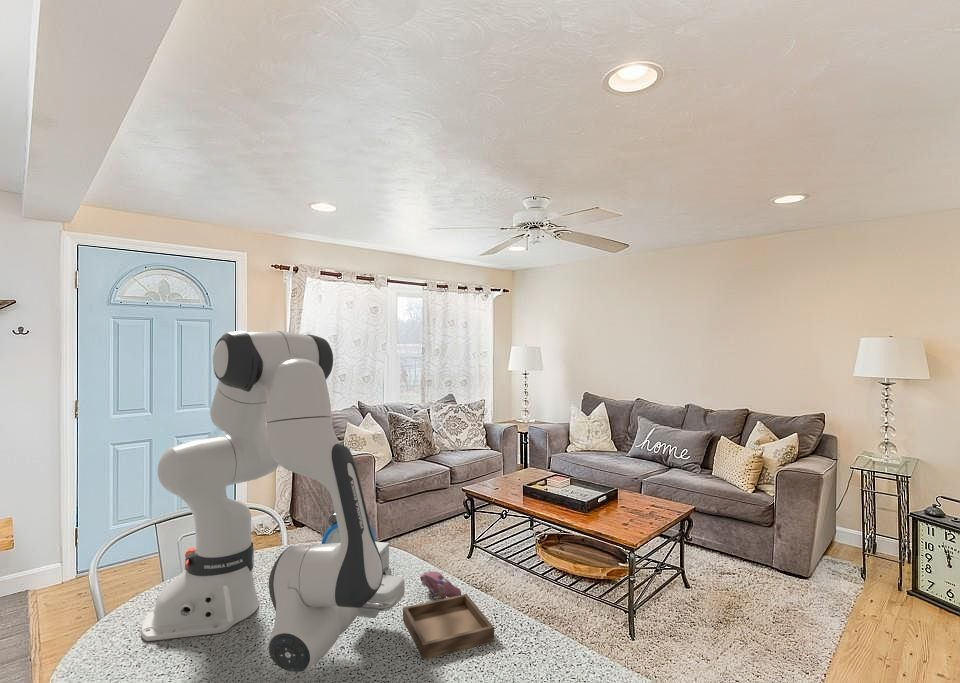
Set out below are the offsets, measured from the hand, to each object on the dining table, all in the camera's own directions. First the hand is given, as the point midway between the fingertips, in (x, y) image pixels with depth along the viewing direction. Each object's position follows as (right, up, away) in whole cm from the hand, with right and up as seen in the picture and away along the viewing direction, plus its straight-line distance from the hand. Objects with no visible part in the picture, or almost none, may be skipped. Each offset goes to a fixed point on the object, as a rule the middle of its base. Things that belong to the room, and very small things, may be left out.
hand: (368, 569), depth 107 cm
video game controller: (+14, -12, +13) cm, 23 cm away
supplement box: (0, -8, -1) cm, 8 cm away
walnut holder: (+17, -12, -2) cm, 21 cm away
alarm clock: (-11, -12, +28) cm, 32 cm away
